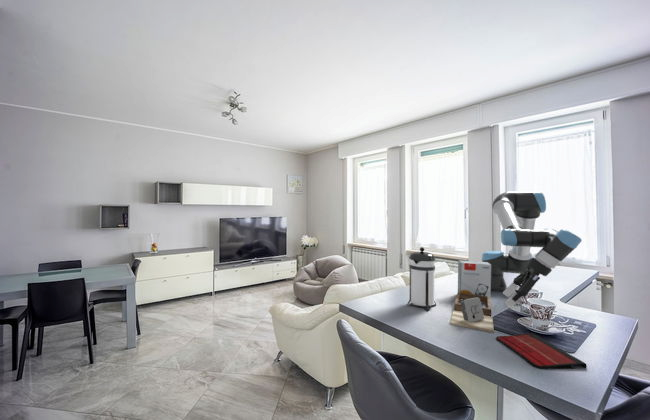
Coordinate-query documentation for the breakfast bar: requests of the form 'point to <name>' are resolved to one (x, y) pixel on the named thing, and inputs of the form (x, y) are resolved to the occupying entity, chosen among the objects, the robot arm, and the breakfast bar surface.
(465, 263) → the hard drive box
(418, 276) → the coffee press
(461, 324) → the birch board
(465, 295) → the holder frame
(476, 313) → the electrical switch
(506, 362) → the breakfast bar surface
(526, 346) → the binder
